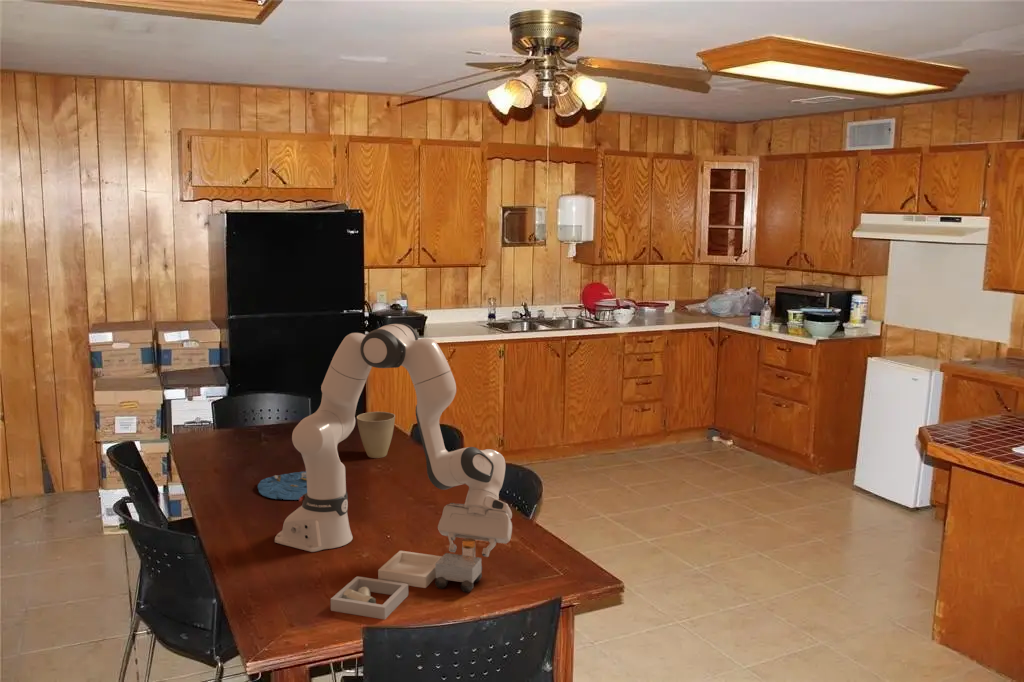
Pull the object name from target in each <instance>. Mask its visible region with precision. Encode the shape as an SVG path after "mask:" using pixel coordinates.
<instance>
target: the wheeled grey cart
mask: <svg viewBox="0 0 1024 682" xmlns="http://www.w3.org/2000/svg"><path fill="white" fill-rule="evenodd" d="M441 556H442V557H441V558H440V559H439V560H438V561H437V562H436V578H435V579H434V580H435V581H434V584H435V586H436V588H438V589H440V590H442V589H445V588H446V587H447V586H448V585H449V581H452V582H459V583H460V589H461V591H462V592H464V593H467V594H469V593H470V592H471V591H472V590H473V589H474V586H475V584H474V583H476V584H477V583H478V582H480V580H481V579H482V578H483V577H482V576H483V574H482V571H483V565H482V557H479V556H478V557H477V556H475V557H471V556H464V555H462V554H455V553H450V552H449V553H448V552H445V553H444V554H443V555H441Z"/></svg>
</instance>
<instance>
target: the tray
mask: <svg viewBox="0 0 1024 682" xmlns="http://www.w3.org/2000/svg"><path fill="white" fill-rule="evenodd" d="M442 556H443V555H434V554H427V553H422V552H420V553H419V552H414V551H412V552H411V551H405V550H398V552H397V553H395V554H394V555H393V556H392V557H391V558H389V560H388V561H387V562H385V563H384V564H383V565H382V566H381V567H379V569H378V570H377V575H378V576H377V579H378V580H385V581H392V582H398V583H405V584H408V587H410V586H411V587H416V588H421V589H422V588H423V589H426V588H427V587H428V586H429V585H430V584H431V583H432V582H433V581H434V580H436V579H437V578H436V562H437V561H438V560H439V559H440V558H441V557H442Z"/></svg>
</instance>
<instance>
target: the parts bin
mask: <svg viewBox="0 0 1024 682" xmlns="http://www.w3.org/2000/svg"><path fill="white" fill-rule="evenodd" d="M361 587H367V588H369V590H370V593H375V594H383V595H390V596H389V598H387V599H386V600H385V601H384V603H383V604H380V603H376V604H375V603H369V602H362V601H356V600H350V599H344V598H343V593H344V592H345V591H346V590H347V589H348V588H349V589H351V590H354V591H358V589H359V588H361ZM408 596H409V585H408V584H405V583H398V582H392V581H385V580H378V578H370V577H365V576H356V577H354V578H352V580H351V581H350V582H348V583H347V584H346V585H345V586H344V587H343V588H341V589H340V590H339V591H338V592H337V593H335V595H333V596H332V597H331V598H330V611H331V612H335V613H336V612H337V613H344V614H349V615H355V616H360V617H362V616H363V617H367V618H373V619H379V620H386V619H387V618H388V617H389V616H390V615H391V614H392V612H394V611H395V610H396V609H397V608H398V607H399V606H400V604H401V603H403V602H404V600H405V599H406V598H407V597H408Z"/></svg>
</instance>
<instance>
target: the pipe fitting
mask: <svg viewBox="0 0 1024 682" xmlns="http://www.w3.org/2000/svg"><path fill="white" fill-rule="evenodd" d="M343 598H344V599H350V600H356V601H362V602H369V603H375V604H377V600H376V598H375V597H373V596H371V592H370V590H369V588H367V587H361V588H359V589H358V591H354V590H351V589H349V588H348V589H347V590H346V591H345V592H344V593H343Z"/></svg>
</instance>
